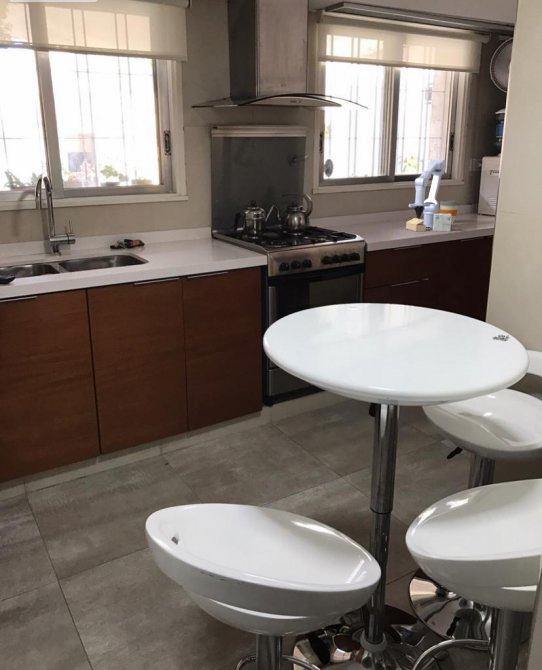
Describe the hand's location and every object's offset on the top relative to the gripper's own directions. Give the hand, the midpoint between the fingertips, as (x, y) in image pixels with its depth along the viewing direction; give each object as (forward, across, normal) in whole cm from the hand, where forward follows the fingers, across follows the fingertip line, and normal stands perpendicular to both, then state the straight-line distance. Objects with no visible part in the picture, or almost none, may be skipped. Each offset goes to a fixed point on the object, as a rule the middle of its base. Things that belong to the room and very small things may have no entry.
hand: (418, 218), depth 386 cm
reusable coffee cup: (+8, +40, +27) cm, 49 cm away
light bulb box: (+8, +13, -7) cm, 17 cm away
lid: (+2, -2, 0) cm, 3 cm away
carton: (+8, -2, 0) cm, 8 cm away
